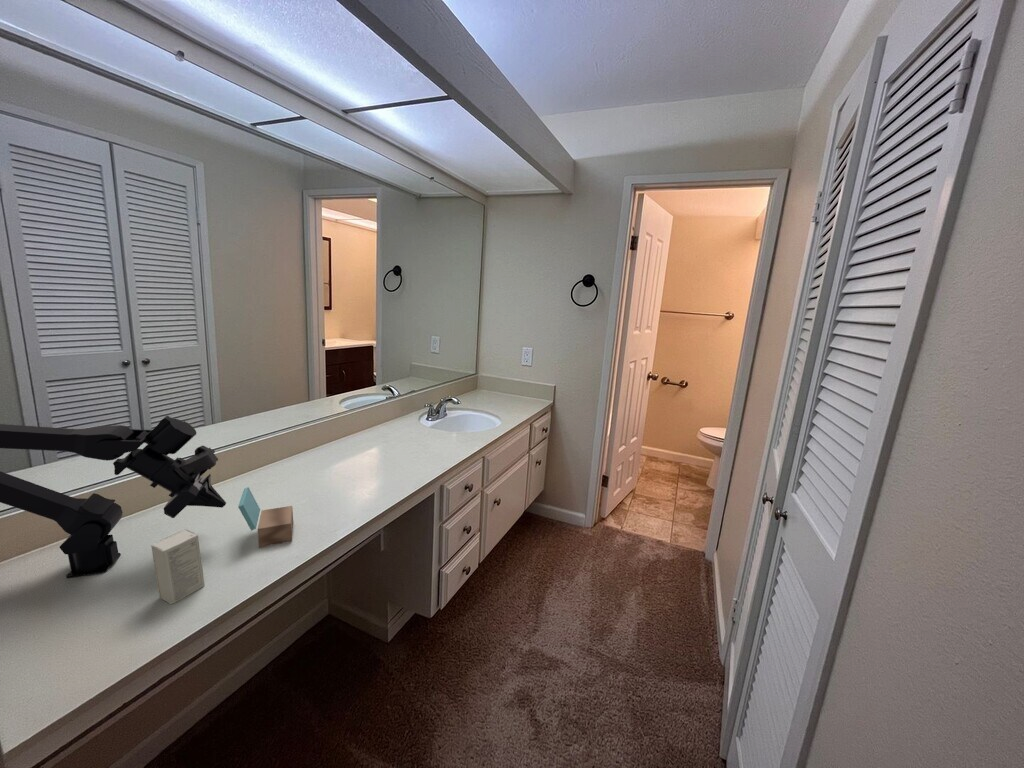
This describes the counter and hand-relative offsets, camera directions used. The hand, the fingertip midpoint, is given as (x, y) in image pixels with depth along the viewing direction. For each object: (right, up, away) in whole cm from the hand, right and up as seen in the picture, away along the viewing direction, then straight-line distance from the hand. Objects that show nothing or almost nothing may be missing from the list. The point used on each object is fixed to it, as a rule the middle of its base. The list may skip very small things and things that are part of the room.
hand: (224, 505), depth 96 cm
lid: (+5, -1, +3) cm, 6 cm away
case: (+9, -9, +7) cm, 15 cm away
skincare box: (+1, -14, -14) cm, 20 cm away
